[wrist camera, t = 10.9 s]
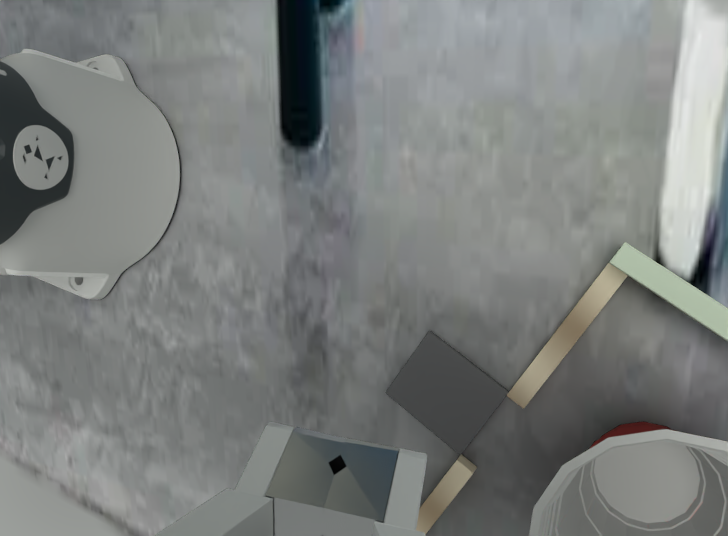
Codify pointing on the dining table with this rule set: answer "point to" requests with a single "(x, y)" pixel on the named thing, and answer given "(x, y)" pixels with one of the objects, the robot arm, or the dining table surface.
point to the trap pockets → (446, 392)
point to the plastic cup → (639, 487)
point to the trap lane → (529, 384)
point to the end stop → (672, 289)
